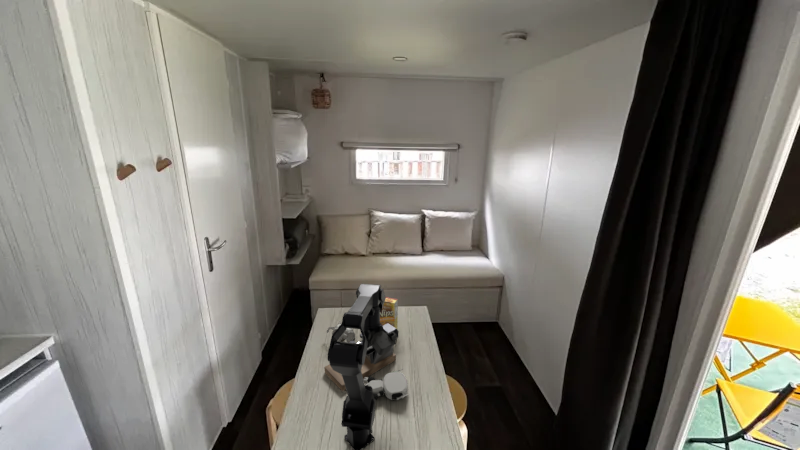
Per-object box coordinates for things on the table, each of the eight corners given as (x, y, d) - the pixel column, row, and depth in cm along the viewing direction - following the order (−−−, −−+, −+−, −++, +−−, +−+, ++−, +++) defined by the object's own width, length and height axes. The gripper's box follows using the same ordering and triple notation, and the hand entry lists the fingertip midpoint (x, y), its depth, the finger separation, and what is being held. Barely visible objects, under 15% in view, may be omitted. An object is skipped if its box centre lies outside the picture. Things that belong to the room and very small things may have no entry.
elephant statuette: (354, 349, 136) (355, 332, 134) (324, 349, 135) (324, 332, 133) (355, 335, 145) (355, 320, 143) (327, 335, 144) (327, 319, 142)
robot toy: (365, 411, 108) (411, 403, 110) (363, 400, 106) (410, 392, 108) (363, 383, 119) (405, 376, 121) (362, 373, 118) (404, 366, 120)
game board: (342, 391, 114) (341, 375, 113) (324, 372, 123) (323, 357, 121) (395, 360, 130) (395, 345, 128) (376, 345, 138) (376, 331, 136)
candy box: (375, 330, 148) (375, 299, 144) (379, 325, 152) (379, 295, 147) (394, 334, 145) (394, 303, 141) (397, 329, 149) (398, 298, 145)
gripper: (361, 346, 94) (362, 391, 98) (410, 321, 106) (409, 362, 110) (339, 328, 102) (342, 371, 106) (387, 307, 114) (387, 346, 118)
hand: (371, 362), depth 110 cm, fingers closed
